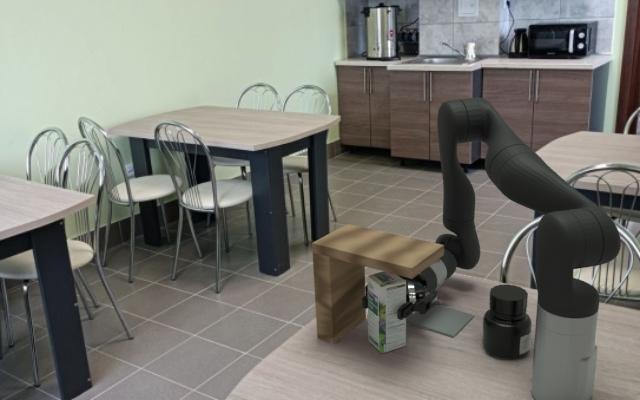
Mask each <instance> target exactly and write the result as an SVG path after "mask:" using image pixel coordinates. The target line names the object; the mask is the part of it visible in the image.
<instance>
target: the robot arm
mask: <svg viewBox="0 0 640 400" xmlns="http://www.w3.org/2000/svg"><path fill="white" fill-rule="evenodd" d="M436 128H437V138H438V149H439V160H440V166H441V167H440V168H441V175H442V186H443V187H442V188H443V191H442V192H443V193H442V194H443V196H442V197H443V200H442V201H443V202H442V226H444V228H445V229H446V230H448V231H449V232H452V233H453V234H452V233H444V234H443V233H442V234H440V235H438V237H437V238H436V239H435V242H434V243H437V244H441V245H444V255H443V256H442V257H440V258H439V259H438V260H436V261H435V262H434V263H432V264H431V265H430V266H428V267H427V268H426V269H425V270H423V271H422V272H421V273H419V274H418V275H417V276H415V277H414V278H413V279H411V278H407V277H403V276H400V277H401V278H402V279H403V280H406V303H405V304H404V305H402V306H401V307H400V308H399V309H398V311H397V318H398V319H400V320H402V319H403V318H407V317H408V316H409V315H410V314H412V313H416V311H417V312H419V313H420V314H426V313H427V312H428V311H429V310H430V309H431V308H433V307H434V306H435V305H436V304H437V305H438V291H437V290H438V289H439V288H441V287H442V285H443V284H444V282H446V281H447V280H448V279H449V278H450V277H452V276H453V275H454V273H455V272H456V270H457V268H458V269H463V270H466V271H468V270H472V269H474V268H475V267H476V266H477V265H478V264H479V261H480V259H481V246H480V241H479V238H478V233H477V227H476V224H475V223H476V222H475V214H476V213H475V212H476V193H475V189H474V187H473V184H472V182H471V180H470V179H469V177H468V176H467V174H466V172H465V171H464V169H463V168H462V166H461V163H460V161H459V157H458V145H459V144H465V143H473V142H474V143H475V142H482V143H483V144H485V145H487V146H488V148H487V151H486V155H485V159H484V168H485V172H486V175H487V177H488V178H489V180H490V181H491V183H493V185H494V186H495V188H497V190H499V192H500V193H501V194H502V195H503V196H504V197H506V198H507V199H509V201H510V200H511V201H512V202H514V203H516V204H518V205H520V206H523V207H525V208H527V209H529V210H531V211H534V212H537V213H540V214H542V215H543V216H542V217H541V218H540V220H539V222H538V224H537V229H536V233H535V234H536V235H535V236H536V237H535V284H536V289H537V290H536V291H537V303H536V314H535V315H536V316H535V329H534V330H535V331H534V342H533V343H534V344H533V357H532V359H533V360H532V373H531V380H530V381H531V389H530V391H531V395H532V397H533V398H534V399H535V400H591V398H592V397H593V394H594V393H593V392H594V384H595V383H594V382H595V374H596V366H597V357H598V349H599V348H598V346H597V345H596V344H595V343H596V334H597V324H598V316H599V308H600V299H601V298H600V293H599V291H598V290H597V288H596V287H594V286H593V285H592V284H591V283H588V282H587V281H584V280H582V279H579V278H576V277H574V271H575V270H577V269H578V270H579V269H585V268H590V267H592V268H593V267H598V266H601V265H605V264H607V263H610V262H612V261H613V260H615V258H617V256H618V255H619V253H620V251H621V245H622V244H621V243H622V242H621V240H622V239H621V236H620V235H621V234H620V232H619V229H618V227H617V225H616V223H615V222H614V220H613V219H612V217H611V216H610V215H609V214H608V213H607V212H606V211H605V210H604V209H603V208H601V206H599V205H598V204H597V203H596V202H594V201H592V200H590V199H589V198H587V196H585V195H584V194H582V193H581V192H580V191H579V190H577V189H575V188H574V187H573V186H572V185H570V184H569V183H568V182H567V181H566V180H565V179H564V178H563V177H561V175H559V174H558V173H557V172H556V171H554V170H553V169H552V168H551V167H550V166H549V165H548V164H547V163H546V162H545V160H543V158H541V156H539V154H537V152H536V151H534V149H532V148H531V147H530V145H527V144H526V143H525V142H524V141H523V140H522V139H521V138H520V137H519V136H518V134H516V133H515V132H514V130H512V128H511V127H510V126H509V125H508V124H507V122H506V121H505V120H504V119H503V118H502V116H501V114H500V113H499V112H498V111H497V110H496V108H495V107H494V106H493V104H491V102H489V100H487V99H486V98H482V97H478V96H477V97H468V98H458V99H450V100H446V101H443V102H442V103H441V104H440V106H439V108H438V110H437V120H436ZM398 276H399V275H398ZM362 306H363V308H365V309H366V310H368V283H367V284H365V296H364V297H363V298H362Z"/></svg>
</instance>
